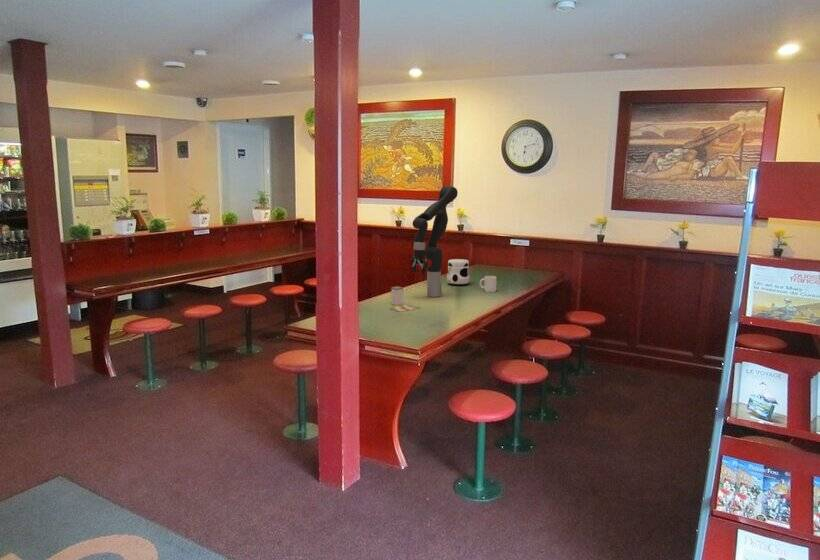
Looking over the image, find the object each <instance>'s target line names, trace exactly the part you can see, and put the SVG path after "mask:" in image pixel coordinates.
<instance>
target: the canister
mask: <svg viewBox="0 0 820 560" xmlns="http://www.w3.org/2000/svg"><path fill="white" fill-rule="evenodd" d="M390 289H391V305H393V304H395V305H394V306H400V305H399V304H401V305H403V304H404V303H403V302H404V301H403V299H404V298H403V294H404V293H403V292H404V291H403V289H404V287H401V286H397V285H396V286H391V288H390Z"/></svg>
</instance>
